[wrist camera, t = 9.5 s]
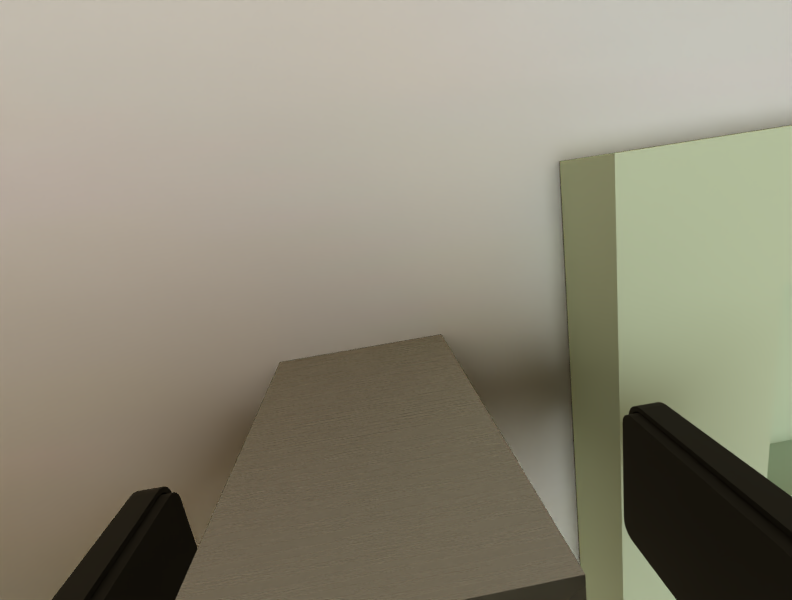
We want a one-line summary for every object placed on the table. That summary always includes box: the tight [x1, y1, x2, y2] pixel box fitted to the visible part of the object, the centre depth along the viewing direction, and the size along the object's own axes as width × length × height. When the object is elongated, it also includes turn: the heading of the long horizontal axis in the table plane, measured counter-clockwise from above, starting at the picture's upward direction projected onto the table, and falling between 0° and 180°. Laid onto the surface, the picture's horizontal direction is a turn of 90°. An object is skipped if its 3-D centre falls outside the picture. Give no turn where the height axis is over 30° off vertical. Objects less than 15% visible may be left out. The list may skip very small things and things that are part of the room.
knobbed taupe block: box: [175, 334, 587, 600], centre depth 9 cm, size 5×5×8 cm
